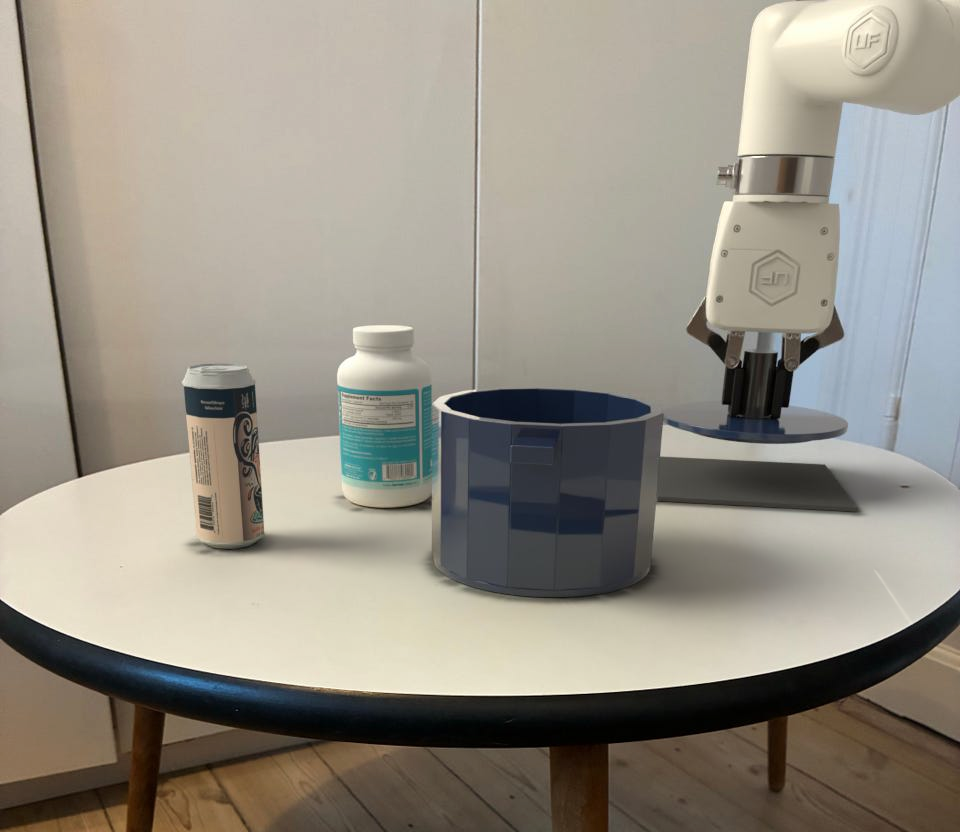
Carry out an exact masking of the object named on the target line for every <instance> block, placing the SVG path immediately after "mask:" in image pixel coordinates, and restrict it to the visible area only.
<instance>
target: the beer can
mask: <svg viewBox="0 0 960 832" xmlns="http://www.w3.org/2000/svg"><path fill="white" fill-rule="evenodd" d="M181 384H182V386H183V395H184V405H185V416H186V418H185V419H186V428H187V438H188V439H187V441H188V451H189V460H190V461H189V463H190V472H191V474H190V475H191V483H192V495H193V507H194V519H195V530H196V533H195V538H196V539H197V540H198V541H199V542H201V543H203V544H205V545H206V546H207V547H210V548H215V549H222V550H223V549H226V550H229V549H241V548H246V547H249V546H252V545H254V544H256V543H257V542H258V541H259V540H260V539H262V538H263V537H264V536H265V535H266V532H265V521H264V506H263V505H264V503H263V490H262V489H263V488H262V475H261V474H262V473H261V459H260V441H259V440H260V439H259V427H258V426H259V425H258V424H259V423H258V410H257V397H256V396H257V393H256V380H255V379H254V378H253V377H252V375H251V373H250V369H249V368H248V366H247V365H246V364H239V363H229V362H227V363H224V362H223V363H222V362H221V363H220V362H214V363H198V364H193V365H188V366H187V369H186V372H185V376H184V378H183V380H182V381H181Z"/></svg>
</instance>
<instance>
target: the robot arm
mask: <svg viewBox="0 0 960 832" xmlns="http://www.w3.org/2000/svg"><path fill="white" fill-rule="evenodd" d="M746 64H747V65H746V73H745V83H744V91H743V100H742V101H743V102H742V109H741V120H740V129H739V138H738V146H737V147H738V149H737V158H736V159H735V162H732V164H727V166H717V171H716V173H717V174H716V183H715V184H716V185H718V186H719V185H721V186H725V188H726V187H727V188H729V189H730V190H732V200H731V201H729V200H726V201H724V202H723V204H722V208H721V210H720V214H719V217H718V221H717V228H716V232H715V238H714V241H713V246H712V251H711V256H710V264H709V270H708V274H707V275H708V276H707V282H706V289H705V294H704V296H703V298H702V299H701V301H700V303H699V304H698V306H697V307H696V309H695V310H694V313H693V314H692V316H691V317H690V319H689V320H688V322H687V323H686V326H685V331H686V333H687V335H689V336H691V337H692V338H694V339H696V340H698V342H700V343H702V344H704V345H706V346H707V347H709V348H710V349H711V350H712V351H713V352H714V353H715V355H716V356H717V357H718V359H719V360H720V361H721V362H722V363H723V364H724V366H725V368H724V376H723V384H722V393H721V394H722V395H721V401H722V405H728V413H729V415H730V416H732V417H736V416H737V415H739V411H740V403H741V394H742V386H743V378H744V370H743V369H742V366H743V360H742V359H741V355H742V351H743V345H744V341H745V336H746V333H747V332H748V333H773V334H775V333H776V334H781V343H780V344H781V345H780V359H777V365H776V372H775V380H774V388H773V395H772V403H771V411H770V416H771V417H773V419H780V416H781V408H788V407H789V405H790V401H791V394H792V387H793V379H794V372H795V371H796V370H798V368H799V367H800V366H801V365H802V364H803V363H804V362H806V361H807V360H808V359H809V358H810V357H811V356H813V355H814V354H815V353H816V352H818V351H819V350H821V349H824V348H828V347H829V346H831V345H833V344H836V343H839V342H840V341H842V340H843V339H844V337H845V331H844V328H843V325H842V323H841V319H840V316H839V314H838V311H837V308H836V305H835V300H836V291H837V283H838V282H837V280H838V271H839V259H840V258H839V257H840V241H841V240H840V239H841V238H840V236H841V215H840V213H841V212H840V203H830V202H829V201H830V195H831V188H832V181H833V174H834V167H835V161H836V160H835V158H836V153H837V146H838V138H839V132H840V125H841V118H842V112H843V106H844V103H846V104H853V105H861V106H864V107H870V108H874V109H880V110H887V111H891V112H894V113H898V114H902V115H910V116H920V115H926V114H930V113H933V112H936V111H938V110H941V109H942V108H944V107H946V106H947V105H949V104H951V103H952V102H953V101H955V100H956V99H957V98H958V97H960V0H793V1H791V0H790V1H784V2H778V3H774V4H771V5H769V6H766V7H764V8H763V9H762V10H761V11H760V12H759V13H758V14H757V16H756V17H755V19H754V21H753V23H752V27H751V31H750V37H749V47H748V55H747V63H746ZM708 323H709V324H710V325H711V326H713V327H714V328H716V329H719V330H723V331H727V332H726V336H725V339H724V338H723V337H722V336H721V334H720V333H718V332H717V331H714V330H713V329H711V328H710V327H708ZM802 334H812V335H809V336H806V337H804V338H803V339H802Z"/></svg>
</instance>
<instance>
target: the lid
mask: <svg viewBox="0 0 960 832" xmlns="http://www.w3.org/2000/svg"><path fill="white" fill-rule="evenodd" d="M778 355H779V352H778V350H772V349H763V348H750V349H749V348H748V349H744V350H743V357H742V358H743V359H742V369H743V370H744V378H743V386H742V394H741V403H740V411H739V415H737V416H736V417H732V416H730V415H729V413H728V405H722V400H705V401H702V400H701V401H690V402H689V401H688V402H681V403H676V404H672V405H669V406H666V407H663V412H664V417H663V424H666V425H668V426H670V427H672V428H675V429H678V430H681V431H684V432H688V433H692V434H695V435H698V436H701V437H706V438H710V439H715V440H721V441H728V442H736V443H747V444H748V443H749V444H764V445H788V444H802V443H808V442H809V443H810V442H815V441H822V440H823V441H824V440H830V439H835V438H838V437H841V436H844V435H845V434H846V433H847V432H848V428H849V423H848V421H847V420H846V419H845V418H843V417H841V416H838V415H836V414H833V413H830V412H826V411H822V410H819V409H814V408H813V409H812V408H808V407H802V406H796V405H790V404H789V407H788V408H781V416H780V419H773V417H771V416H770V411H771V403H772V395H773V388H774V380H775V372H776V366H777V363H778V357H779V356H778Z"/></svg>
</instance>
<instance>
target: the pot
mask: <svg viewBox="0 0 960 832" xmlns="http://www.w3.org/2000/svg"><path fill="white" fill-rule="evenodd" d="M663 409H664V406H663V405H662V404H660V403H658V402H654V401H652V400H650V399H647V398H644V397H640V396H635V395H630V394H625V393H619V392H614V391H607V390H606V391H605V390H596V389H587V388H574V387H573V388H572V387H551V386H550V387H549V386H545V387H544V386H509V387H506V386H504V387H489V388H479V389H469V390H461V391H458V392H453V393H449V394H445V395H441V396H439V397H438V398H437V399H435V400H434V401H432V493H431V554H432V556H433V562H434V565H435V567H436V568H437V569H438V571H439V572H440V573H442V574H443V575H444V576H446V577H447V578H449V579H451V580H453V581H455V582H458V583H460V584H463V585H466V586H469V587H473V588H474V589H475V588H476V589H479V590H483V591H487V592H493V593H498V594H504V595H512V596H520V597H531V598H532V597H534V598H573V597H584V596H594V595H600V594H601V595H602V594H607V593H611V592H616V591H619V590H622V589H626V588H629V587H631V586H633V585H635V584H637V583H639V582H640V581H643V579H644V578H646V577H647V575H648V573H649V572H650V568H651V566H652V557H653V556H652V555H653V544H654V531H655V519H656V509H657V508H656V507H657V487H658V475H659V463H660V456H661V450H662V440H663V439H662V438H663V427H664V422H663V417H664V412H663Z"/></svg>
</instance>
